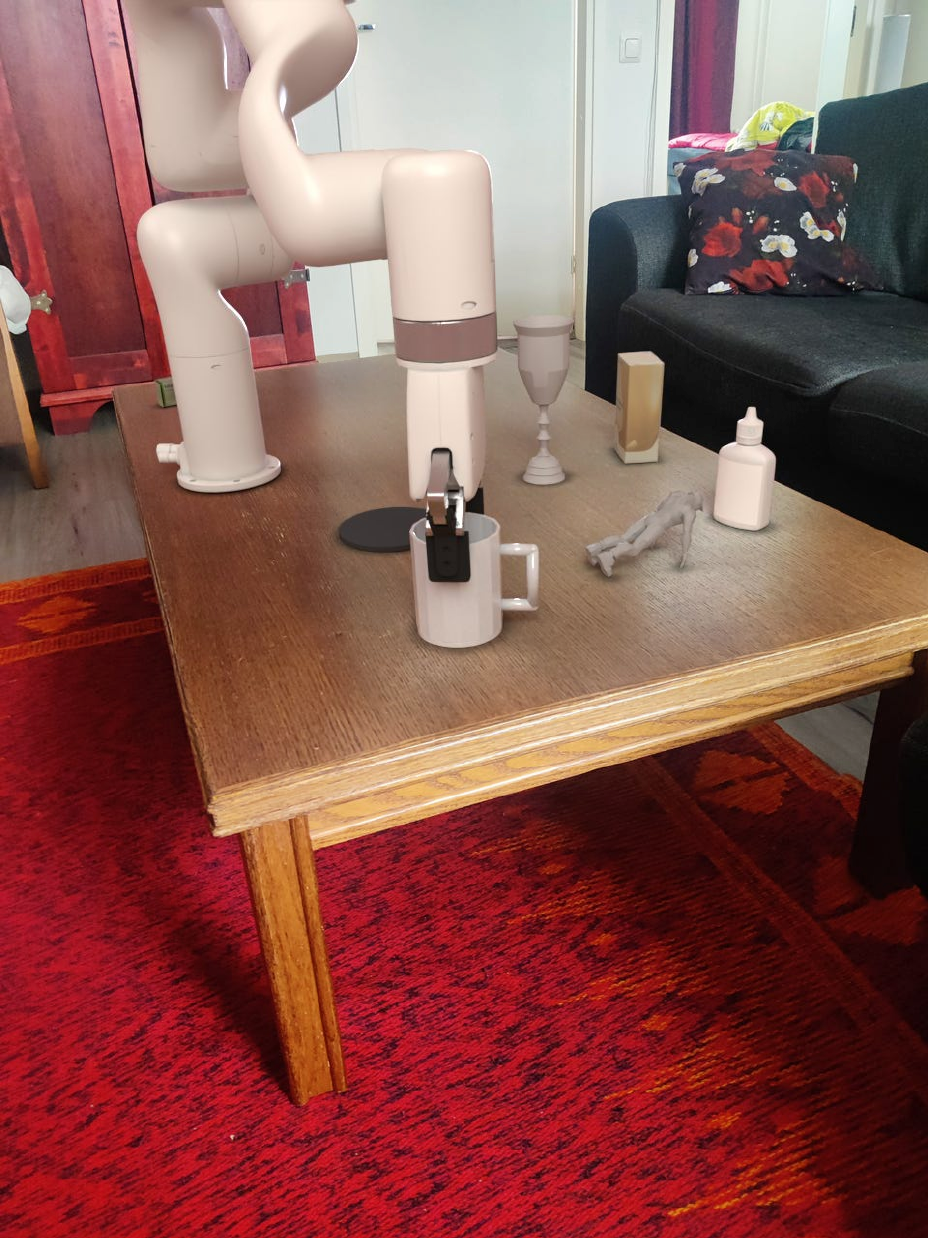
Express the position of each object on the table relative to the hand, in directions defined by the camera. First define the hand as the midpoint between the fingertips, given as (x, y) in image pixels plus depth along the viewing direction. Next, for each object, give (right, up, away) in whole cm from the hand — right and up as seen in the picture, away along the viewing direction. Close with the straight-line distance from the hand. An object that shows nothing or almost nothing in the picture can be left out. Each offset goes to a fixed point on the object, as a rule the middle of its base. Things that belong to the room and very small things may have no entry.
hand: (458, 555), depth 77 cm
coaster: (-7, +4, +23) cm, 25 cm away
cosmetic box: (+22, +15, +42) cm, 49 cm away
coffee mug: (+2, -6, +3) cm, 7 cm away
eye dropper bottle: (+29, +5, +21) cm, 36 cm away
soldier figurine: (+18, 0, +14) cm, 22 cm away
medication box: (-43, +30, +76) cm, 93 cm away
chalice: (+10, +12, +36) cm, 39 cm away
